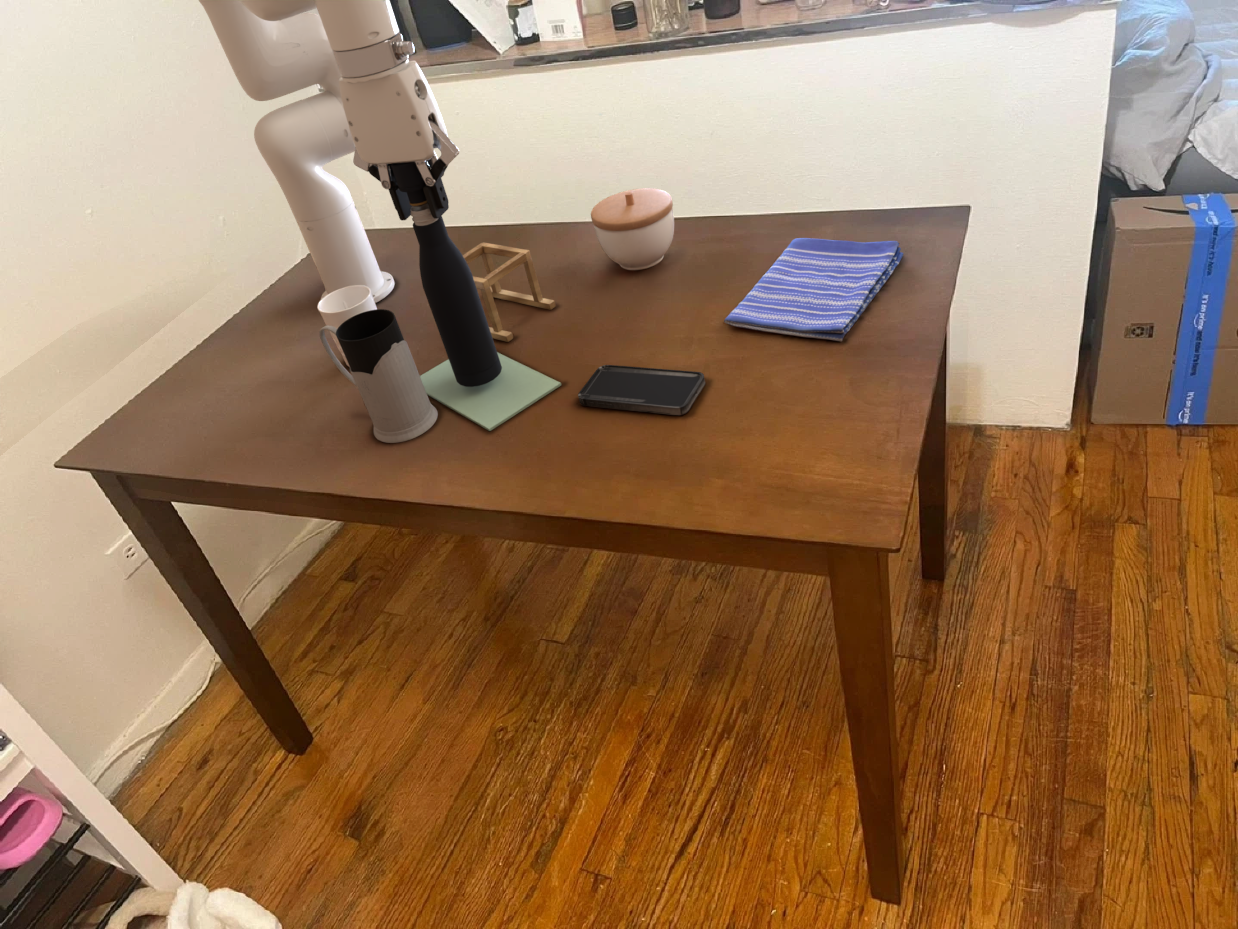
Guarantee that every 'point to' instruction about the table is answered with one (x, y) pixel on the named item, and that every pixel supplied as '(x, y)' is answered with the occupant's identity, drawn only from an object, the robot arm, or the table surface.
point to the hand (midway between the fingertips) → (424, 213)
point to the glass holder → (383, 375)
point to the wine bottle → (449, 289)
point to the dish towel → (817, 288)
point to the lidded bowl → (635, 227)
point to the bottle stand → (492, 280)
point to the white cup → (345, 307)
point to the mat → (489, 392)
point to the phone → (642, 389)
